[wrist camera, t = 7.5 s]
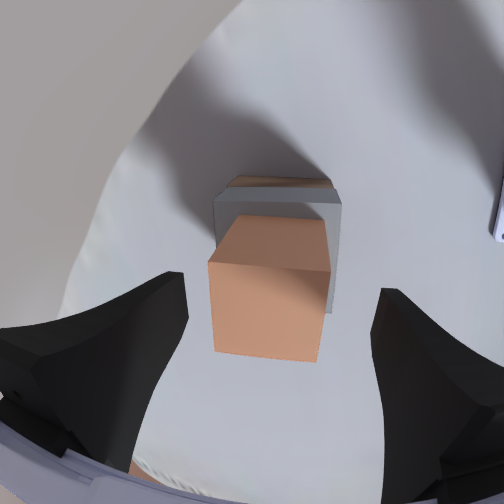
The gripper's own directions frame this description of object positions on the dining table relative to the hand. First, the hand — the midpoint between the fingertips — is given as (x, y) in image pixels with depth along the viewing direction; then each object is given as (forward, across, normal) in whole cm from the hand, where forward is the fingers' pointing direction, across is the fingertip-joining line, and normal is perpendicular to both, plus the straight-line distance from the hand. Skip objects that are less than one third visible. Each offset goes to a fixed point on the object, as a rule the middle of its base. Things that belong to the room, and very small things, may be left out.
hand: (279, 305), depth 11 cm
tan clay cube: (+5, 0, 0) cm, 5 cm away
